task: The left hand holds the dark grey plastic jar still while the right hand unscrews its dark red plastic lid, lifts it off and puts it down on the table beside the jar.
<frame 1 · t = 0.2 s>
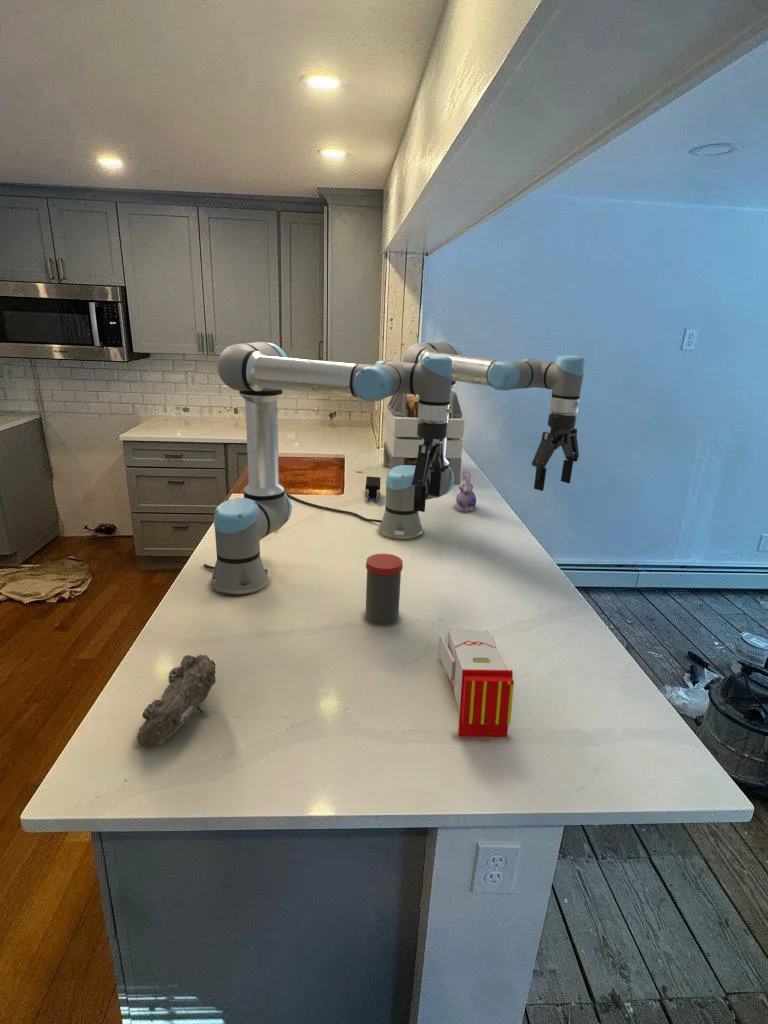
left hand: (427, 502, 146), 28 cm above the counter, tool pointing down, fingers open, 13 cm apart
right hand: (552, 485, 166), 28 cm above the counter, tool pointing down, fingers open, 13 cm apart
jar: (381, 616, 146), on the counter
figurine: (465, 508, 228), on the counter
lid: (384, 562, 141), point 15 cm above the counter, screwed on, not yet turned
fossil: (184, 711, 109), on the counter
white storage crate: (419, 473, 275), on the counter
toy: (469, 691, 119), on the counter
figurine character: (372, 498, 236), on the counter
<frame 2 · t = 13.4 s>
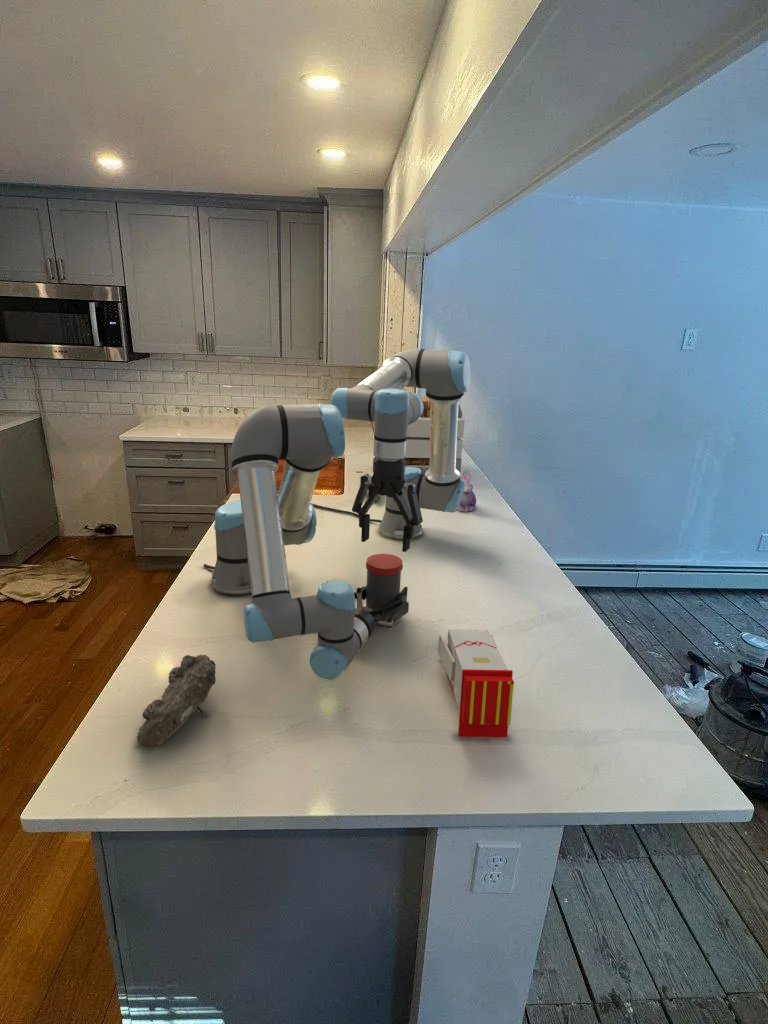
left hand: (389, 587, 148), 6 cm above the counter, tool horizontal, fingers closed on jar, 8 cm apart
right hand: (385, 544, 139), 20 cm above the counter, tool pointing down, fingers open, 10 cm apart
jar: (381, 616, 146), on the counter, touching left hand
everything else where it was.
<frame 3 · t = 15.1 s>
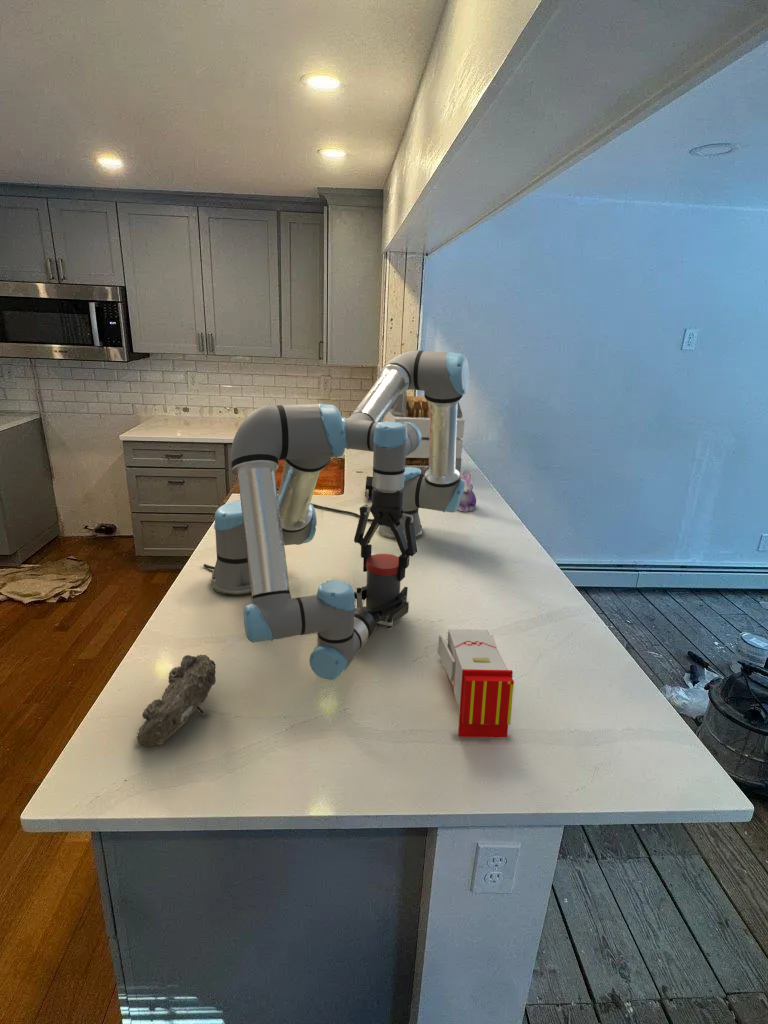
left hand: (389, 587, 148), 6 cm above the counter, tool horizontal, fingers closed on jar, 8 cm apart
right hand: (383, 574, 142), 12 cm above the counter, tool pointing down, fingers closed on lid, 9 cm apart
jar: (381, 616, 146), on the counter, touching left hand
lid: (384, 562, 141), point 15 cm above the counter, screwed on, not yet turned, touching right hand
everything else where it was.
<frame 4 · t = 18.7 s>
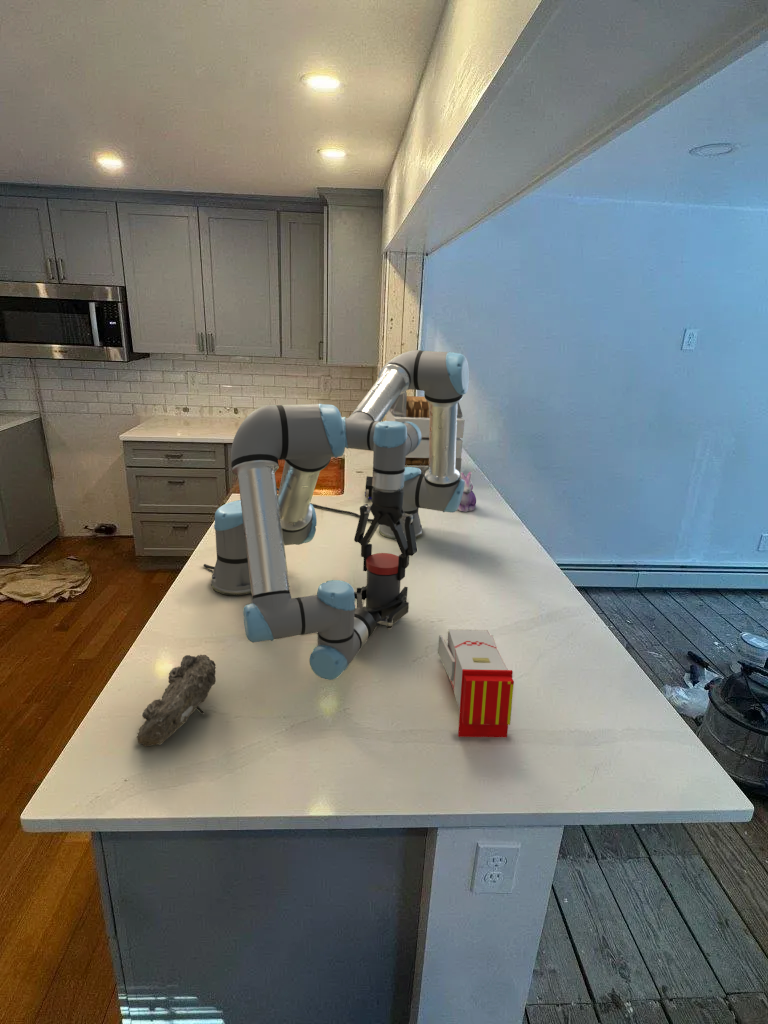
left hand: (389, 587, 148), 6 cm above the counter, tool horizontal, fingers closed on jar, 8 cm apart
right hand: (383, 573, 142), 12 cm above the counter, tool pointing down, fingers closed on lid, 9 cm apart
jar: (381, 616, 146), on the counter, touching left hand
lid: (384, 561, 141), point 16 cm above the counter, turned 132° so far, risen 0.2 cm, still on its thread, touching right hand
everything else where it was.
when the right hand's fingers open (0 cm above the counter, at t = 29.1 s): lid drops 2 cm, point 2 cm above the counter.
when the left hand's fingers open (6 cm above the counter, at t = 30.8 s): jar stays where it is, on the counter.
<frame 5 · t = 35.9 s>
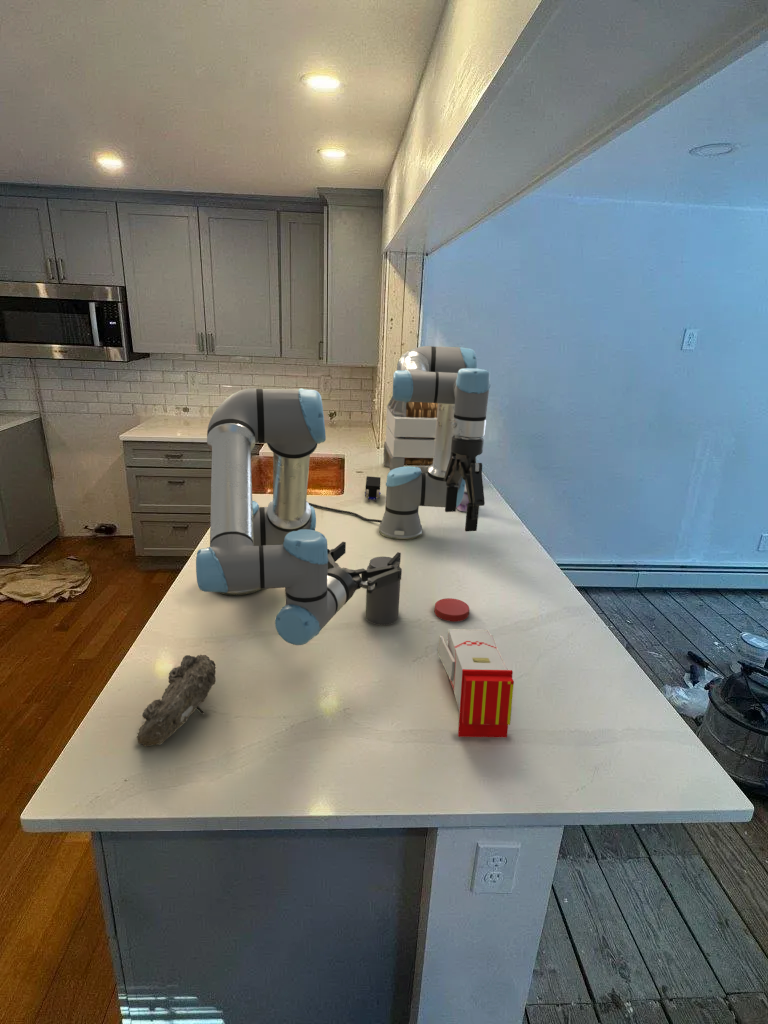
left hand: (371, 552, 130), 22 cm above the counter, tool horizontal, fingers open, 13 cm apart
right hand: (460, 520, 141), 26 cm above the counter, tool pointing down, fingers open, 13 cm apart
jar: (381, 616, 146), on the counter
lid: (451, 607, 149), point 2 cm above the counter, off its thread
everything else where it was.
at the end: lid came off its thread; lid point 1.5 cm above the counter; the left hand is holding nothing; the right hand is holding nothing; jar tilted 0°; jar moved 0.0 cm from its start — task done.
